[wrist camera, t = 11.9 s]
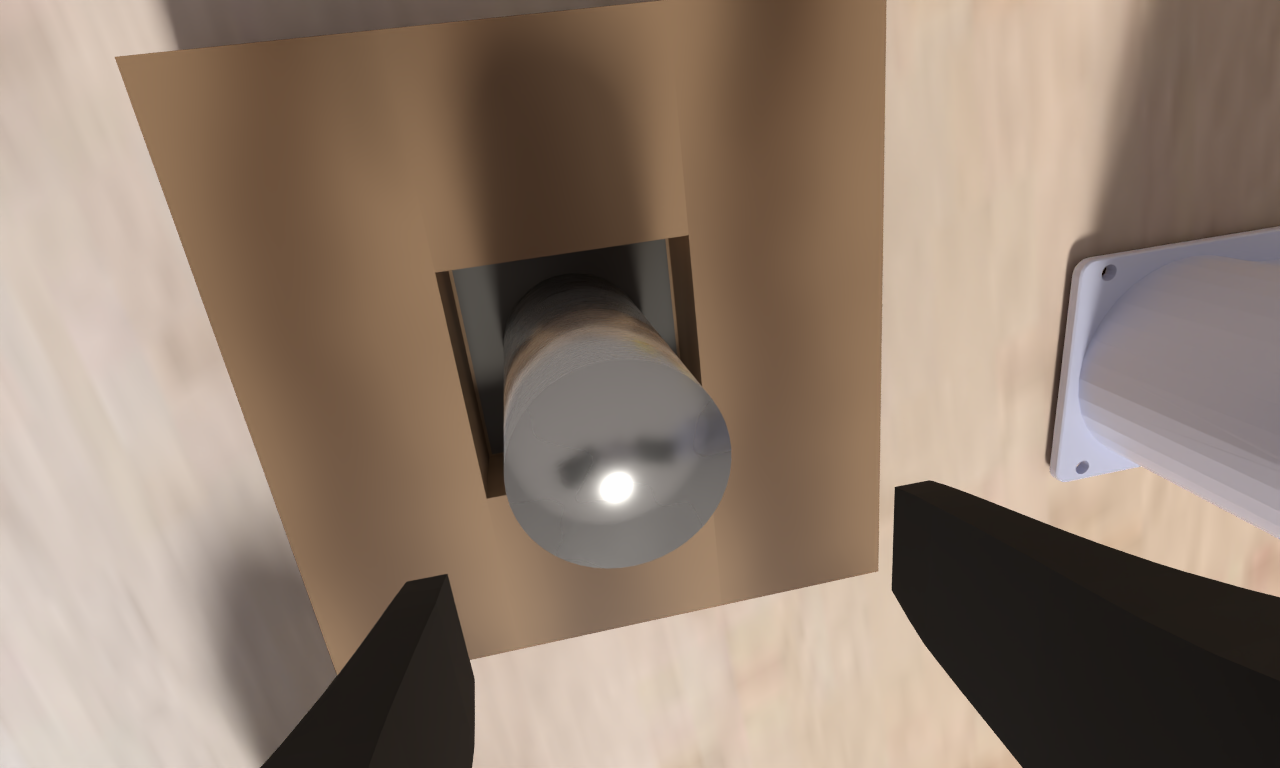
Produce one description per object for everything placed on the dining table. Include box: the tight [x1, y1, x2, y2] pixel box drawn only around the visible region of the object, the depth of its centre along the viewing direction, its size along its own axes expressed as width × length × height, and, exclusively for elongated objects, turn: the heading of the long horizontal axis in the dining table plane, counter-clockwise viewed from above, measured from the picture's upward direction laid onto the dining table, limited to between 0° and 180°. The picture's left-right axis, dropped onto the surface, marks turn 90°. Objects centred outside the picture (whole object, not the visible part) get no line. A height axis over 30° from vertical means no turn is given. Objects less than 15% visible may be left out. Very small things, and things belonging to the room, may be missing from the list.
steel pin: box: [504, 273, 731, 569], centre depth 15 cm, size 4×4×8 cm
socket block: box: [115, 0, 886, 675], centre depth 18 cm, size 16×16×3 cm
